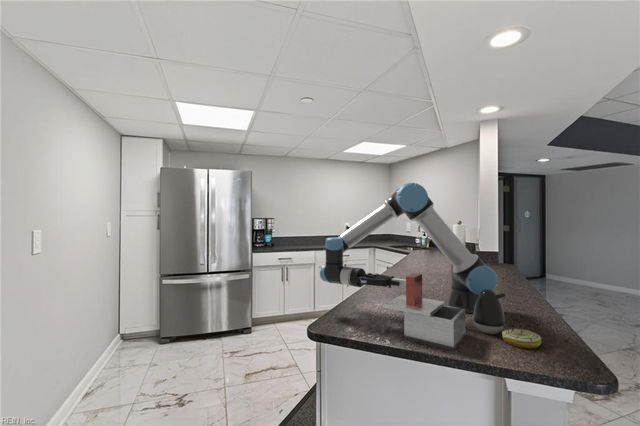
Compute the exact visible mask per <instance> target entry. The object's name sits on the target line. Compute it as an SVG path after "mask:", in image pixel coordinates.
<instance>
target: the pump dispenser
mask: <svg viewBox="0 0 640 426" xmlns="http://www.w3.org/2000/svg"><path fill="white" fill-rule="evenodd" d="M504 297H506V293H498V294H496V292H495V291H494V290H493V291H492V290H489V289H486V290H483V291H482V292H481V293H480V294H479V296H478V298H477V300H476V303H475V307H474V312H473V313H472V321H473V323H474V325H475V328H476V329H477V330H479V331H480V332H481V333H484V334H488V335H496V334H499V333H502V332H503V329H504V328H505V327H504V326H505V325H506V318H505V313H504V312H505V311H504V309H503V305H502V303H501V301H500V299H501V298H504Z"/></svg>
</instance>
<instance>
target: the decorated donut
mask: <svg viewBox="0 0 640 426" xmlns="http://www.w3.org/2000/svg"><path fill="white" fill-rule="evenodd" d="M501 334H502V339H503V341H504V343H507V344H508V345H511V346H514V347H518V348H521V349H530V350H533V349H534V350H536V349H537V348H539V346H541V344H542V337H541V336H540V335H539V334H537V333H535V332H534V331H531V330H526V329H522V328H508V329H505V330H502V331H501Z"/></svg>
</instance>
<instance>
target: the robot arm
mask: <svg viewBox="0 0 640 426" xmlns="http://www.w3.org/2000/svg"><path fill="white" fill-rule="evenodd" d="M404 214H405V216H407V218H408V219H409V220H410V221H412V222H416V223H417V224H418V226H420V227H421V229H422V230H423V231H424V233H425V234H426V235H427V236H428V237H429V239H431V241H432V243H434V245H435V246H436V247H437V248H438V250H439V251H440V252H441V253H442V254H443V256H445V258H446V259H447V260H448V261H449V263H450V267H451V268H450V273H451V275H450V277H451V278H450V283H451V288H450V293H449V296H448V298H447V305H446V306H450V307H456V308H462V309H465V310H466V313H467V314H473V312H474V307H475V303H476V300H477V298H478V296H479V294H480V293H481V292H482V291H483V290H486V289H489V290H492V291H494V290H495V289H496V288H497V285H498V280H499V279H498V274H497V273H496V271H495V270H494V269H493V268H491V266H489V265H486V263H485V262H484V261H483V260H482V259H481V258H480V257H479V256H478V255H477V254H476V253H475V254H474V253H471V251H470V250H469V249H468V248H467V247H466V246H465V245H464V243H463V242H462V241H461V240H460V239H459V237H458V236H457V234H455V233H454V231H453V230H452V229H451V228H450V227H449V225H447V223H446V222H445V221H444V220H443V219H442V217H441V216H440V215H439V214H438V213H437V212H436V210H435V209H434V202H433V201H432V199H431V198H430V197H429V195H428V191H427V190H426V188H425V187H424V186H423V185H421V184H419V183H415V182H408V183H407V182H406V183H404V184H403V185H402V186H400V187H399V188H397V189H396V190H395V191H394V193H393V194H391V195H390V196H389V197H388V198H387V199H385V200H384V202H383V204H382V205H381V206H379V207H378V208H376V209H375V210H373V211H372V212H371V213H369V214H368V215H366V216H365V217H364V218H363V219H361V220H359V221H358V222H356V224H354V225H352V226H351V227H349V228H348V229H347V230H345V231H344V232H343V233H341V234H340V235H339V236H337V237H327V238H325V246H324V247H325V264H323V265H322V266H321V268H320V271H319V277H320V279H321V280H322V281H323V282H326V283H330V284H336V285H337V284H338V285H343V286H344V285H345V286H346V287H347V288H348V287H349V286H351V287H357V288H362V287H363V286H375V287H386V288H387V287H388V289H392V287H396V288H403V289H406V279H402V278H395V276H394V275H392V276H390V275H384V274H380V273H371V272H366V271H365V269H364V268H360V267H354V266H344V253H345V252H346V251H348V250H350V249H351V248H352V247H353V246H355V245H356V244H358V243H359V242H360V241H362V240H364V239H365V238H366V237H368V236H369V235H371V234H372V233H374V232H375V231H376V230H378V229H379V228H380V227H382V226H383V225H385V224H386V223H388V222H389V221H391V220H392V219H394V218H395V219H396V218H399V217H400V216H402V215H404Z"/></svg>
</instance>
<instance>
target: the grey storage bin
mask: <svg viewBox="0 0 640 426" xmlns="http://www.w3.org/2000/svg"><path fill="white" fill-rule="evenodd" d="M403 314H404V316H403V318H404V320H403V321H404V324H403V325H404V328H403V329H404V331H403V332H404V336H403V337H404V339H406V340H410V341H414V342H418V343H422V344H427V345H429V346H435V347H439V348H443V349H448V350H450V351H455V350H456V349H457V347H458V345H459V344H460V343H461V342H462V340H463V339H464V337H465V336H466V333H467V332H466V331H467V330H466V329H467V328H466V327H467V326H466V325H467V321H466V318H467V317H466V310H465V309H462V308H456V307H450V306H447V305H444V306H443V307H441V308H440V309H439V310H438V311H437V312H435V313H434V314H433V315H432V316H425V315H419V314H414V313H409V312H404V311H403Z"/></svg>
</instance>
